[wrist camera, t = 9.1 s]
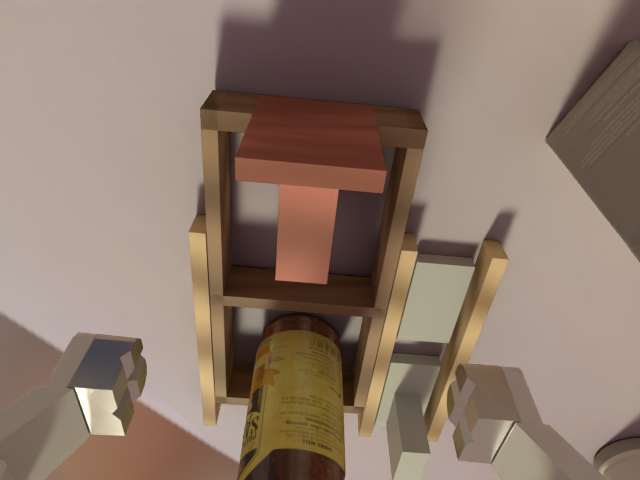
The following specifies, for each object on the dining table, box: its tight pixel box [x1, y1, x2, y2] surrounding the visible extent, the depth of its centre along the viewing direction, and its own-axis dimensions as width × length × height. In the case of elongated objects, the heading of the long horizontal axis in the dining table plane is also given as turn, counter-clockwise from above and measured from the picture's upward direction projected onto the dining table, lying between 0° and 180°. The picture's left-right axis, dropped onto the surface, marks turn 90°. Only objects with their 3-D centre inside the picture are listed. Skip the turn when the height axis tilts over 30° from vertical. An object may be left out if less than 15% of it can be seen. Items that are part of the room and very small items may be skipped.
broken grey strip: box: [374, 253, 475, 480], centre depth 34 cm, size 18×4×6 cm, turn 175°
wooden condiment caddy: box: [200, 90, 428, 414], centre depth 28 cm, size 22×11×8 cm, turn 175°
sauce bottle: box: [237, 315, 345, 480], centre depth 28 cm, size 7×6×20 cm
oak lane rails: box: [189, 215, 509, 442], centre depth 35 cm, size 19×19×2 cm
